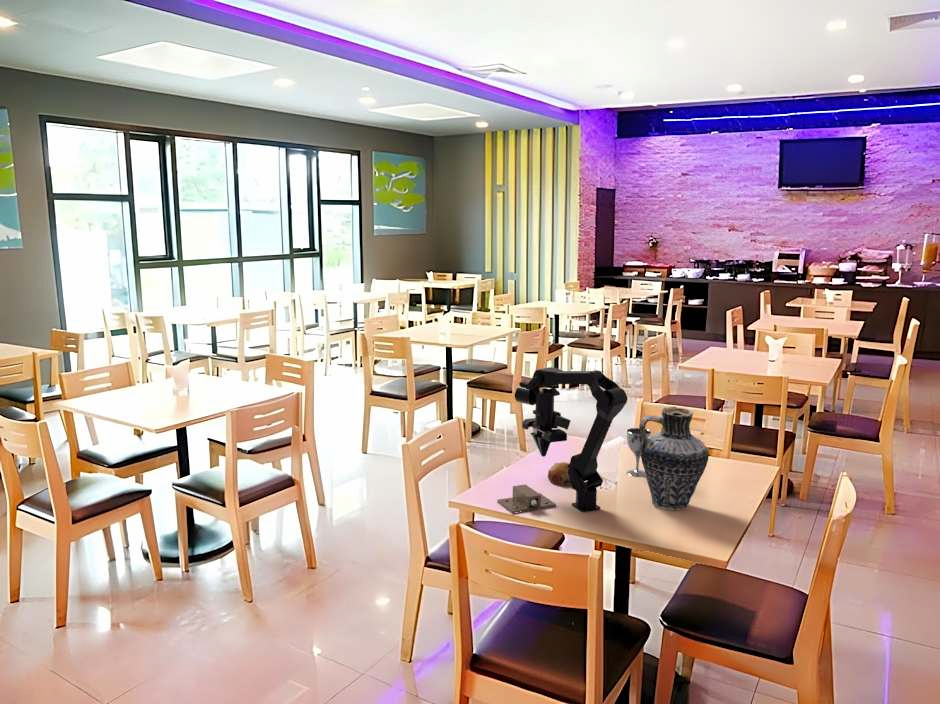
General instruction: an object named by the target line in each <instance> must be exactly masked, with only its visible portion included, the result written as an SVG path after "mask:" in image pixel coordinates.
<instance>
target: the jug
mask: <svg viewBox="0 0 940 704" xmlns="http://www.w3.org/2000/svg"><path fill="white" fill-rule="evenodd" d="M693 415H694V411H692V410H689V408H688V409H687V408H683V407H677V406H671V407H663V408H662V409H661V414H659V415H658V416H657V415H656V416H655V415H647V416H644V417H643V418H641V420H640V423H639V428H640V430H641V434H642V437H643V443H642V445H641V457H640V459H641V463H642V467H643V469H644V472H645V473H646V476H645V477H646V480H647V485H648V488H649V493H650V497H651V503H652V505H654V506H655V507H658V508H660V509H663V510H667V511H668V510H669V511H680V510H684V509H686V508H687V507H688V505H689V503H690V501H691V498H693V495H694V492H695V490H696V488H697V487H698V484H699V482H700V479H701V478H702V476H703V474H704V472H705V471H706V467H707V464H708V461H709V457H710V456H709V450H708V448H707V446H706V444H705V443H704V442H703V441H702V439H701V440H700V439H699V438H697V436H696V437H695V436H694V435H692V433H691V429H690V424H691V422H692V419H693ZM648 422H654V423H656V424H661V429H660V431H659V432H656V433H653V434H651V436H649V437H647V436H646V433H645V429H646V427H647V423H648Z"/></svg>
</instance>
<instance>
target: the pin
mask: <svg viewBox="0 0 940 704" xmlns="http://www.w3.org/2000/svg"><path fill="white" fill-rule="evenodd" d="M530 504H531V505H532V506H533V507H536V506H537V505H538V501H537V500H535V499H530Z"/></svg>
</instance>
